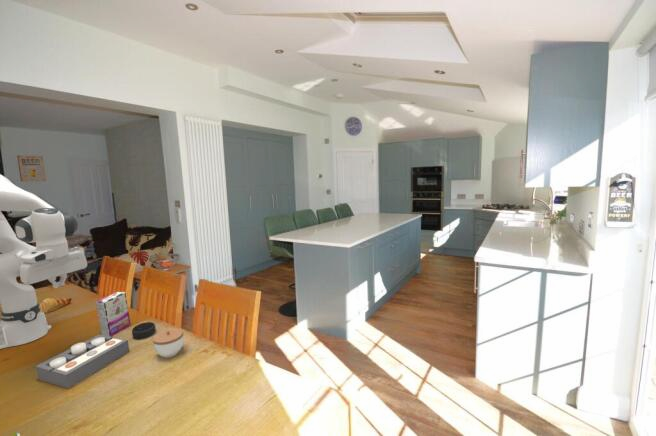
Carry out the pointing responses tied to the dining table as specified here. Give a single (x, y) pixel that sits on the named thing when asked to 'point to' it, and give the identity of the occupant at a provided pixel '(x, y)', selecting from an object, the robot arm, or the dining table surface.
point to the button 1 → (58, 362)
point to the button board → (82, 362)
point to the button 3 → (98, 341)
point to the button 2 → (78, 349)
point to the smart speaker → (143, 330)
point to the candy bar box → (113, 313)
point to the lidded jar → (168, 342)
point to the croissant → (53, 304)
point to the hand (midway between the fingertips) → (59, 287)
